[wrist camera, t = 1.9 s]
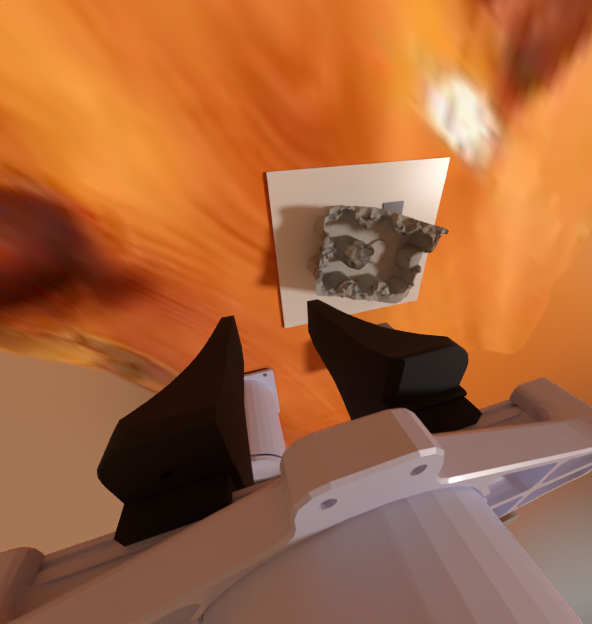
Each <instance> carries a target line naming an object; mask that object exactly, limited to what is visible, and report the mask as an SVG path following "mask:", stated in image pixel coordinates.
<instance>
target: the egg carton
mask: <svg viewBox="0 0 592 624" xmlns="http://www.w3.org/2000/svg"><path fill="white" fill-rule="evenodd" d="M329 209H330V210H329V212H328V213H327V214H326V215H324V216H322V217H319V218H317V219H316V222H315V227H314V231H316V232H318V233H320V234H321V236H322V239H323V242H322V245H321V251H320V252H319V253H318V254H317V255H316V256H314V257H311V258H309V259H308V264H307V269H308V270H309V271H310V272H311V273H312V275H313V276H314V277H315V280H316V293H317V295H318V296H330V297H332V296H339V297H342V298H344V297H347V298H350V299H353V300H367V301H378V302H385V303H398V302H400V301H401V300H403V299H404V298H405V297H407V295H408V293H409V291H410V289H411V288H412V287H413V286H414V283H413V282H414V279H415V277H416V275H417V274H418V273H420V272H421V266H419V265H418V264H419V262H420V259H421V257H422V254H423V252H424V253H431V252H432V251H433V250H434V249H435V247H436V245H437V243H438V241H439V238H440V237H441V236H442V234H447V233H448V230H447V229H445V228H443V227H439V226H435V225H432V224H429V223H426V222H422V221H419V220H416V219H414V218H411V217H407V216H404V215H400V214H397V213H393V212H390V211H387V210H384V209H381V208H376V207H364V206H344V205H336V206H332V207H331V206H330V207H329Z"/></svg>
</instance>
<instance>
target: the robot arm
mask: <svg viewBox="0 0 592 624" xmlns="http://www.w3.org/2000/svg"><path fill="white" fill-rule="evenodd" d="M307 313H308V332H309V334H310V337H311V339H312V342H313V344H314V346H315V348H316V350H317V352H318V353H319V355H320V357H321V359H322V360H323V362H324V364H325V365H326V367H327V369H328V370H329V372H330V374H331V376H332V377H333V379H334V381H335V383H336V385H337V388H338V390H339V392H340V394H341V396H342V399H343V401H344V403H345V406H346V408H347V411H348V413H349V415H350V418H351V421H348V422H345V423H341V424H338V425H335V426H332V427H328V428H325V429H322V430H319V431H315V432H312V433H310V434H308V435H306V436H304V437H302V438H300V439H298V440H296V441H295V442H294V443H293V444H292V445H291V446H290V447H288V448H287V449H286V447H285V443H284V438H283V434H282V429H281V425H280V420H279V416H278V413H279V412H280V409H279V403H278V397H277V392H276V386H275V380H274V374H273V370H272V369H265V370H261V371H257V372H253V373H249V374H244V360H243V352H242V346H241V342H240V338H239V334H238V330H237V326H236V322H235V318H234V315H233V316H228V317H223V318H221V319H220V321H219V323H218V325H217V327H216V328H215V330H214V332H213V334H212V335H211V337H210V338H209V340H208V341H207V343H206V344H205V346H204V347H203V349H202V350H201V351H200V353H199V354H198V355H197V357H196V358H195V359H194V360H193V361H192V362H191V364H190V365H189V366H188V367H187V368H186V369H185V370H184V371H183V372H182V373H181V374H180V375H179V376H177V377H176V378H175V379H174V380H173V381H172V382H171V383H170V384H169V385H168V386H166V387H165V388H164V389H163V390H162V391H160V392H159V393H158V394H156V395H155V396H154V397H153V398H151V399H150V400H149V401H147V402H146V403H144V404H143V405H141V406H140V407H139V408H137V409H136V410H134V411H133V412H131V413H130V414H128V415H127V416H126V417H124V418H122V419H121V420H119V422H118V424H117V426H116V428H115V430H114V432H113V434H112V436H111V438H110V441H109V443H108V445H107V448H106V450H105V452H104V455H103V457H102V459H101V462H100V464H99V466H98V469H97V475H98V478H99V480H100V481H101V483H102V484H103V485H104V486H105V487H106V488H107V489H108V490H109V491H110V492H112V493H113V494H114V495H115V496H116V497H117V498H118V499H119V500H121V501H122V502H123V503H124V507H123V510H122V513H121V517H120V520H119V523H118V526H117V530H116V532H113V533H110V534H107V535H104V536H101V537H98V538H95V539H92V540H89V541H86V542H83V543H80V544H77V545H74V546H71V547H69V548H66V549H63V550H59V551H56V552H53V553H51V554H48V555H45V556H44V555H43V553H42V552H40V551H38V550H37V549H35V548H30V547H20V548H15V549H11V550H8V551H5V552H1V553H0V624H583V622H582V621H581V620H580V619H579V617H578V616H577V615H576V614H575V613H574V612H573V610H572V609H571V608H570V606H569V605H568V604H567V603H566V601H565V600H564V599H563V598H562V596H561V595H560V594H559V593H558V592H557V590H556V589H555V588H554V586H553V585H552V584H551V583H550V581H549V580H548V579H547V578H546V576H545V575H544V574H543V573H542V572H541V570H540V569H539V568H538V567H537V565H536V564H535V563H534V562H533V560H532V559H531V558H530V557H529V555H528V554H527V553H526V552H525V551H524V549H523V548H522V547H521V545H520V544H519V543H518V542H517V540H516V539H515V538H514V537H513V536H512V534H511V533H510V532H509V531H508V529H507V528H506V527H505V525H504V524H503V523H502V522H501V520H500V519H499V518H501V517H503V516H504V515H506V514H508V513H510V512H512V511H514V510H516V509H518V508H519V507H521V506H523V505H525V504H527V503H529V502H531V501H533V500H535V499H536V498H538V497H540V496H542V495H544V494H546V493H548V492H550V491H552V490H554V489H556V488H558V487H560V486H562V485H564V484H566V483H568V482H570V481H573V480H575V479H576V478H579V477H581V476H583V475H585V474H587V473H589V472H590V471H591V470H592V407H591V406H590V405H588V404H586V403H585V402H583V401H582V400H580V399H578V398H577V397H575V396H574V395H572V394H570V393H569V392H567V391H566V390H564V389H562V388H561V387H559V386H558V385H556V384H554V383H553V382H551V381H549V380H548V379H546V378H538V379H535V380H532V381H529V382H526V383H523V384H521V385H519V386H518V387H517V388H515V390H514V391H513V392H512V394H511V396H510V399H509V400H506V401H503V402H500V403H497V404H494V405H491V406H488V407H485V408H482V409H479V410H478V409H477V408H476V407H475V406H474V405H473V404H472V403H471V402H470V401H468V400H467V399H466V398H465V397H464V396H466V394H467V393H466V391H465V390H464V389H463V388H462V387H461V386H460V385H459V384H460V382H461V380H462V377H463V375H464V373H465V371H466V368H467V365H468V354H467V352H466V350H465V349H463V348H462V347H461V346H459V345H458V344H456V343H455V342H454V341H452V340H451V339H450V338H448V337H445V336H434V335H424V334H416V333H410V332H404V331H399V330H394V329H390V328H386V327H382V326H378V325H375V324H372V323H369V322H366V321H363V320H361V319H358V318H356V317H353V316H351V315H349V314H347V313H344V312H342V311H340V310H338V309H336V308H334V307H332V306H330V305H329V304H327V303H325V302H323V301H321V300H318V299H316V300H311V301H307ZM264 373H266V374H264Z"/></svg>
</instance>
